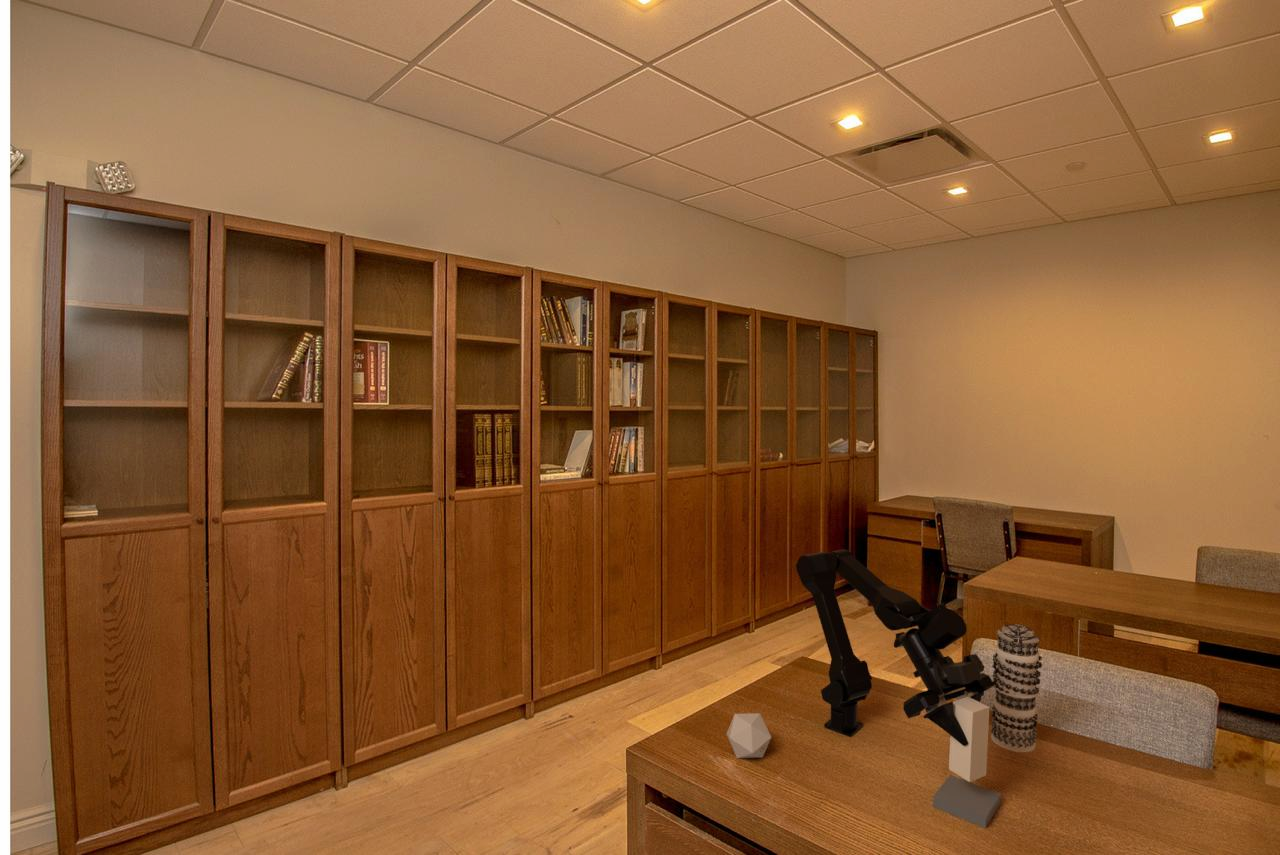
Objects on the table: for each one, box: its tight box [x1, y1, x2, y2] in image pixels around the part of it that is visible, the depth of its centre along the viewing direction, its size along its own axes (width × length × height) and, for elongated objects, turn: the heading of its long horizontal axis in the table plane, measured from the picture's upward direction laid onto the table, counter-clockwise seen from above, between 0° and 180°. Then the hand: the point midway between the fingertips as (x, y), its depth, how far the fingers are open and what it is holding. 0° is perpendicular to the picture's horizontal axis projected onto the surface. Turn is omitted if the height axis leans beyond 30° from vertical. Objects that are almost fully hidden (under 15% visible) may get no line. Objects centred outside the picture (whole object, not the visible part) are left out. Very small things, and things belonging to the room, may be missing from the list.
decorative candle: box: [990, 623, 1043, 753], centre depth 149 cm, size 9×9×25 cm
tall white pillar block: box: [948, 697, 990, 783], centre depth 128 cm, size 4×4×13 cm
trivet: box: [932, 774, 1002, 829], centre depth 129 cm, size 9×9×2 cm
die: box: [726, 712, 772, 759], centre depth 147 cm, size 8×9×10 cm
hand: (975, 741), depth 127 cm, fingers closed on tall white pillar block, 4 cm apart
